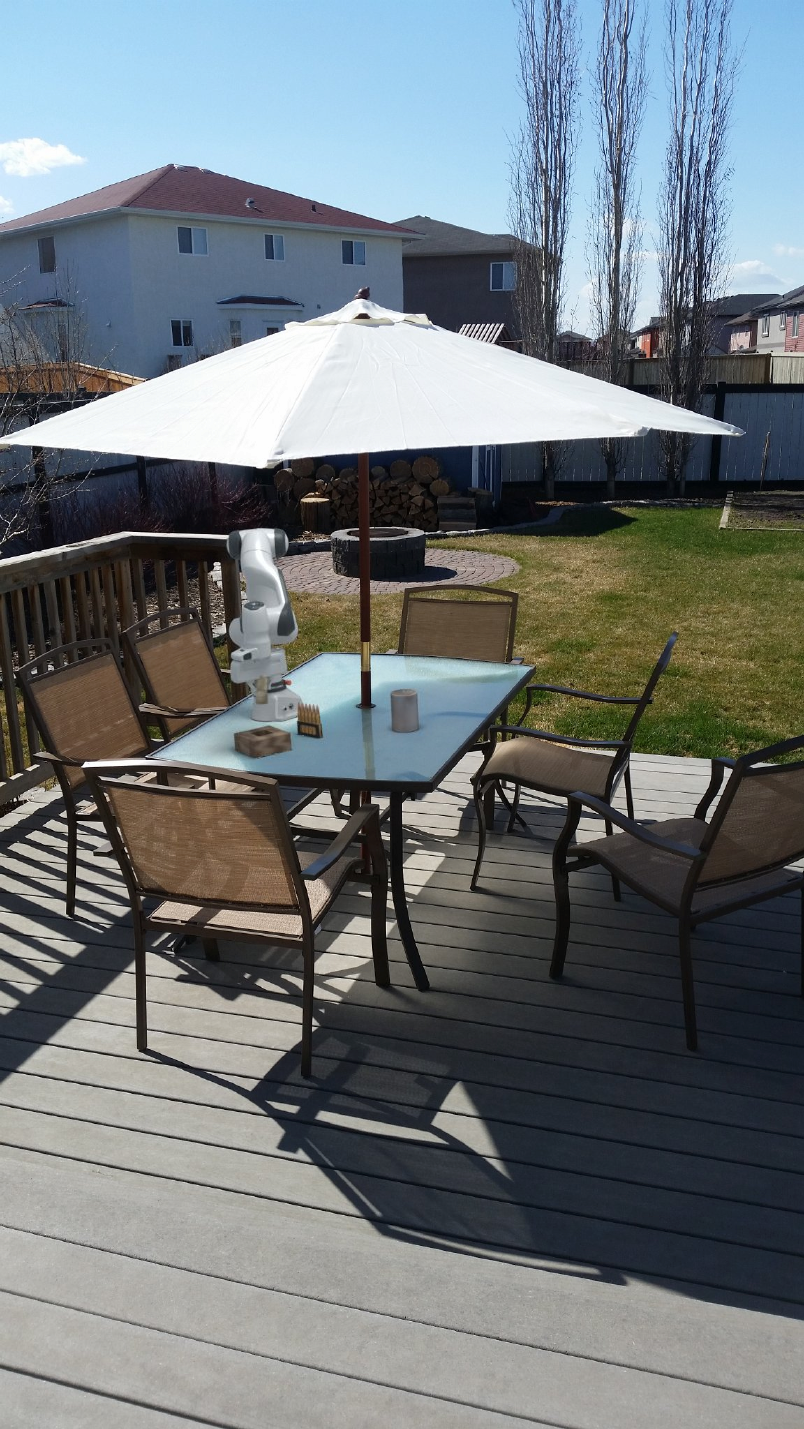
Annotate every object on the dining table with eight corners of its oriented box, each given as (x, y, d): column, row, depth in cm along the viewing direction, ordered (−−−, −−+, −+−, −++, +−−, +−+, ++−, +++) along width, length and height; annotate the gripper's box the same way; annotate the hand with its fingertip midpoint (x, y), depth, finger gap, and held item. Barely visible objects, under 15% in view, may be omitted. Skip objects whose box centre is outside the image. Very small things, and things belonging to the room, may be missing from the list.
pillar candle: (395, 725, 388) (393, 685, 384) (421, 725, 386) (419, 685, 382) (389, 733, 379) (387, 692, 375) (416, 733, 377) (414, 692, 373)
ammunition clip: (297, 734, 382) (295, 702, 378) (300, 733, 383) (298, 701, 380) (319, 738, 375) (317, 705, 372) (323, 737, 376) (320, 704, 373)
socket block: (270, 741, 374) (269, 725, 372) (291, 749, 363) (290, 732, 362) (235, 750, 366) (233, 733, 364) (255, 758, 355) (254, 741, 353)
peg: (264, 700, 363) (261, 672, 360) (270, 702, 360) (268, 674, 357) (253, 703, 361) (251, 674, 358) (260, 705, 357) (257, 676, 355)
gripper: (279, 644, 364) (282, 684, 368) (226, 654, 352) (230, 695, 356) (289, 647, 359) (292, 687, 363) (236, 657, 347) (239, 698, 351)
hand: (261, 691), depth 359 cm, fingers closed on peg, 4 cm apart
